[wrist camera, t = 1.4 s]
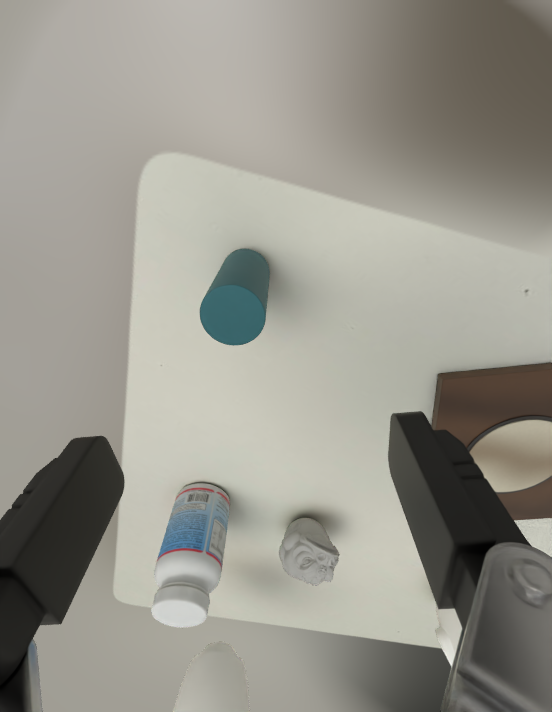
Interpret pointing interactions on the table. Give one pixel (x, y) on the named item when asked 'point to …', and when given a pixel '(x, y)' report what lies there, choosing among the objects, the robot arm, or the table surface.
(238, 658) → the cup
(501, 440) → the wooden board with hole
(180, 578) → the pill bottle
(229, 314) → the teal cylinder
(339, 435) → the table surface
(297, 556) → the grey sculpted head figurine
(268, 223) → the table surface
